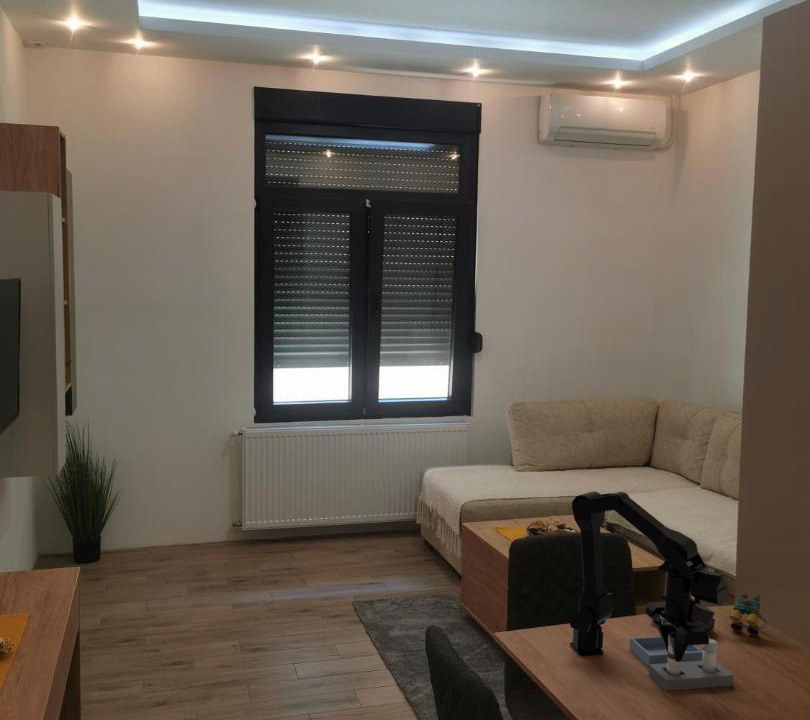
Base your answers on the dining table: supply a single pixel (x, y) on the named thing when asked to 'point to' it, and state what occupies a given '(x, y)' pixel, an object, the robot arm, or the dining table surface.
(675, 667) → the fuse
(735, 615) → the binoculars
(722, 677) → the fuse holder
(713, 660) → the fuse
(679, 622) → the robot arm
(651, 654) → the parts tray
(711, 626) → the black sponge
